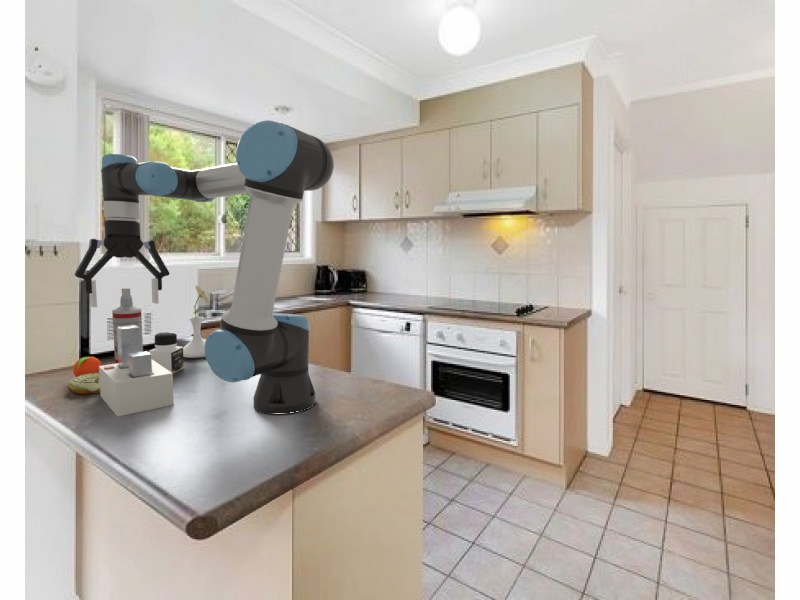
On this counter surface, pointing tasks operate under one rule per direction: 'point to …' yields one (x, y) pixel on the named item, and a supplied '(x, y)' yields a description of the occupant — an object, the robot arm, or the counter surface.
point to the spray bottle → (126, 319)
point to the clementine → (86, 366)
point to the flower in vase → (196, 332)
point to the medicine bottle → (168, 352)
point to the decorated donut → (85, 383)
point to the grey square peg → (139, 364)
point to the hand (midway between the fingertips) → (126, 304)
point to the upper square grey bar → (127, 343)
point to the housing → (135, 389)
